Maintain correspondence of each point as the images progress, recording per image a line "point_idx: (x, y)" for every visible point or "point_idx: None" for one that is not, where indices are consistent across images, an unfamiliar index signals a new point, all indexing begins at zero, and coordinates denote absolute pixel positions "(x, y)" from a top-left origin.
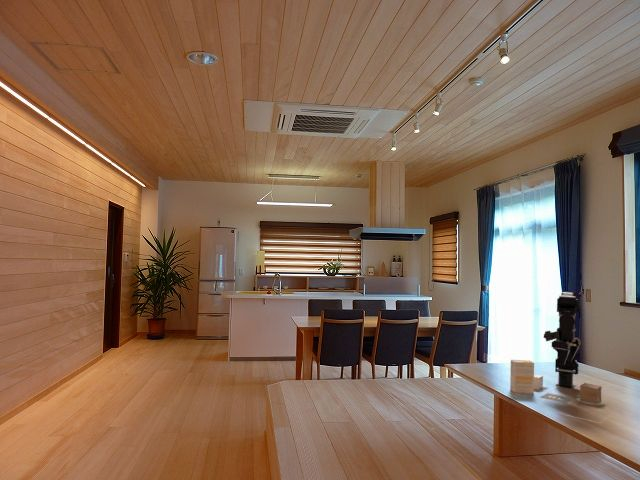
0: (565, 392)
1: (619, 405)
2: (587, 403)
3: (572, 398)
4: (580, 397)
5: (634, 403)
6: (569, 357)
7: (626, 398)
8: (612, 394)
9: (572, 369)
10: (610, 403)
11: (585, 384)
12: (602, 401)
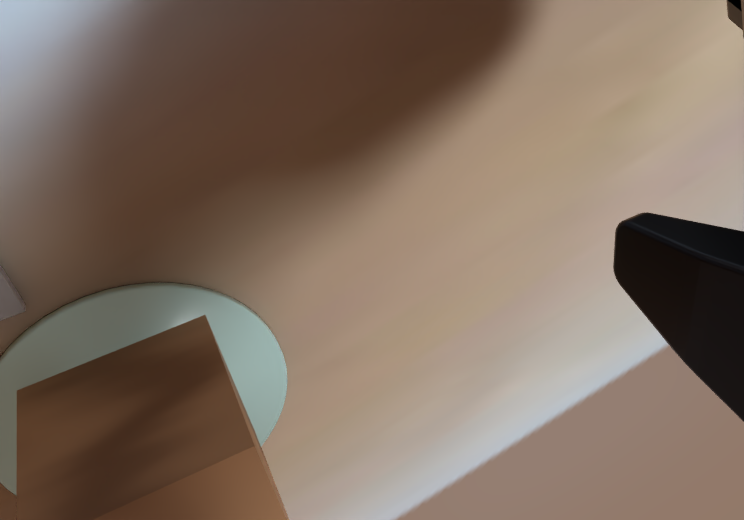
0: (271, 10)
1: (317, 496)
2: (1, 479)
3: (3, 303)
4: (18, 422)
5: (486, 460)
6: (734, 332)
7: (588, 358)
8: None
9: (742, 22)
10: (307, 450)
11: (164, 515)
12: (264, 433)
